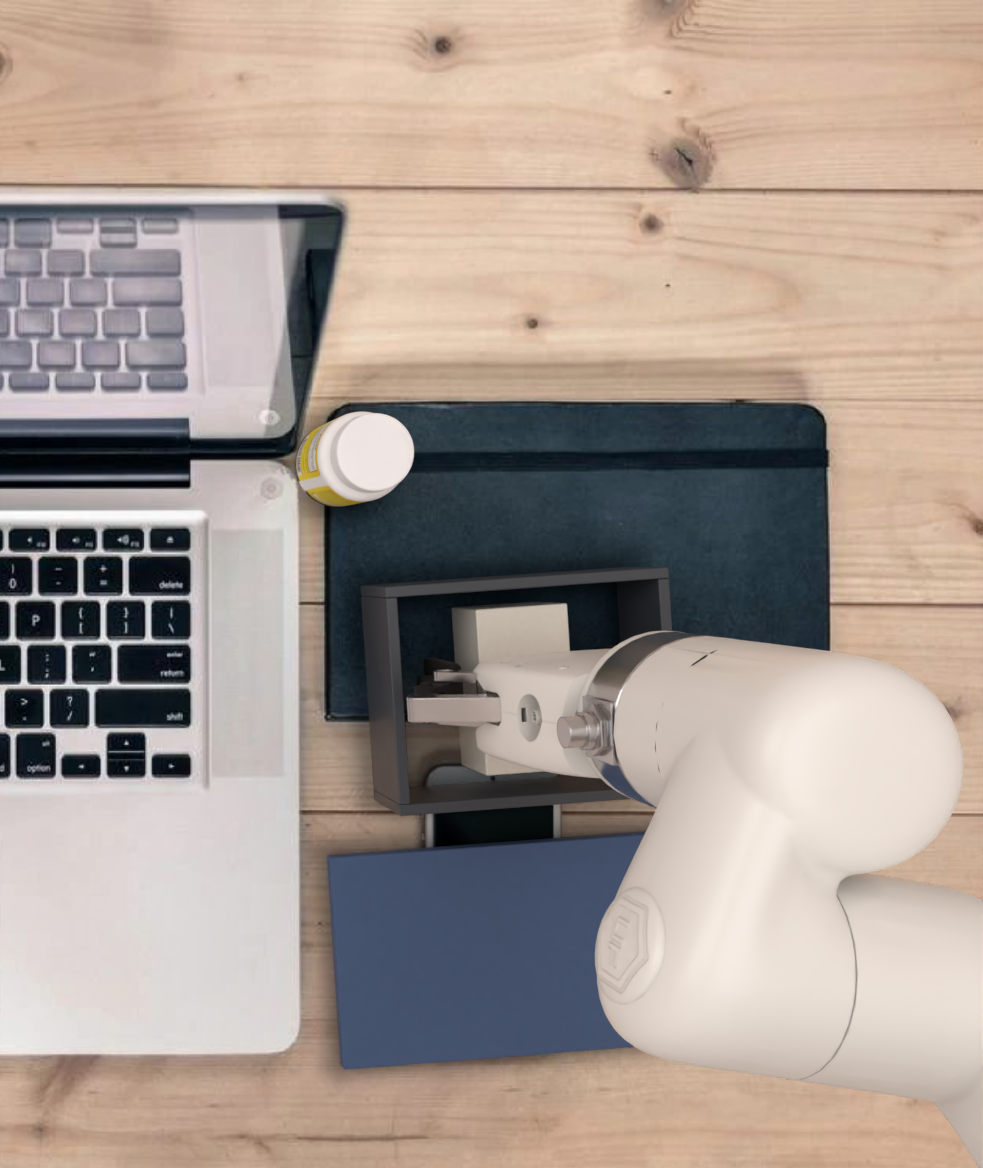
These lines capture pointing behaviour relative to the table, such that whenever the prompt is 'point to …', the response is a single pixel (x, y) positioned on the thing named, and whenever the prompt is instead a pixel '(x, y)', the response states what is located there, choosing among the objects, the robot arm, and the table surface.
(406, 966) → the pad
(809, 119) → the table surface
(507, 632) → the block
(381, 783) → the dark grey rectangular frame
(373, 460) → the supplement bottle
